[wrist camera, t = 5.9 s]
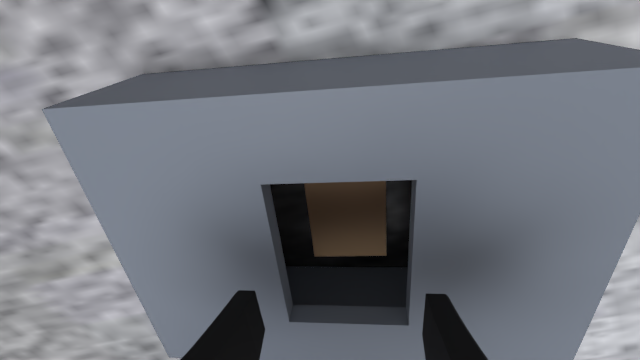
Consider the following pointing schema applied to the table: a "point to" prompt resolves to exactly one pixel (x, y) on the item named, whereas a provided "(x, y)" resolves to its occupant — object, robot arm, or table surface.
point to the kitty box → (373, 165)
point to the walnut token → (347, 218)
